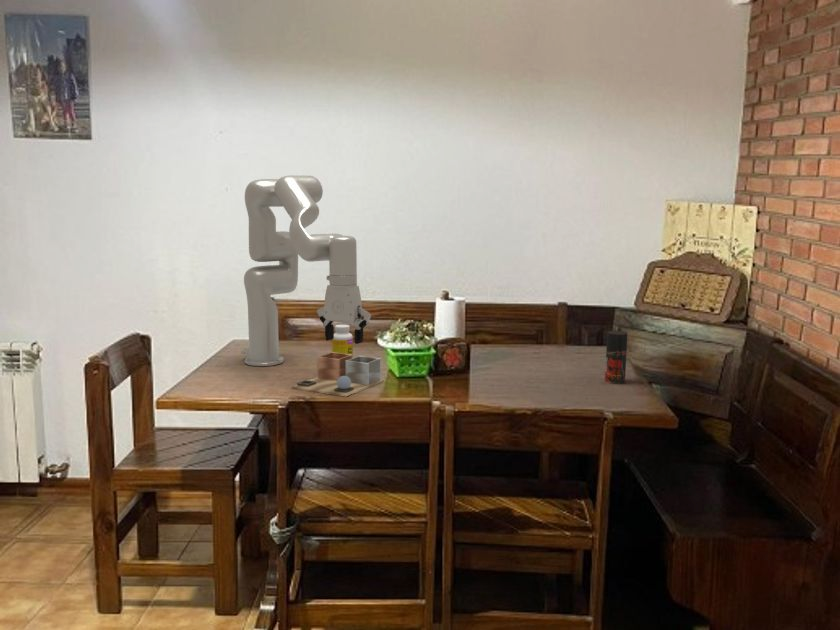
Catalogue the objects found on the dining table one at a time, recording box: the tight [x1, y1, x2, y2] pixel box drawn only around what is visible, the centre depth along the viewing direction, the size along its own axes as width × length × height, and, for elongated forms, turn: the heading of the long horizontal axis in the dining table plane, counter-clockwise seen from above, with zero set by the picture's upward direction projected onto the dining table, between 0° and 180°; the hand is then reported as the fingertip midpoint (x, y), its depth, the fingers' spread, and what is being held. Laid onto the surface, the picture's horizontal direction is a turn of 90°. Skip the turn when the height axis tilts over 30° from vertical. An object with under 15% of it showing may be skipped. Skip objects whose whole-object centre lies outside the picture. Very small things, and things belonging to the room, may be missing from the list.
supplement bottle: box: [331, 324, 354, 355], centre depth 263 cm, size 7×7×13 cm
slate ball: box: [337, 376, 351, 390], centre depth 231 cm, size 4×4×4 cm
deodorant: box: [604, 330, 628, 385], centre depth 245 cm, size 6×6×15 cm
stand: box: [290, 351, 384, 396], centre depth 238 cm, size 19×20×7 cm
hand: (344, 341), depth 228 cm, fingers open, 9 cm apart
